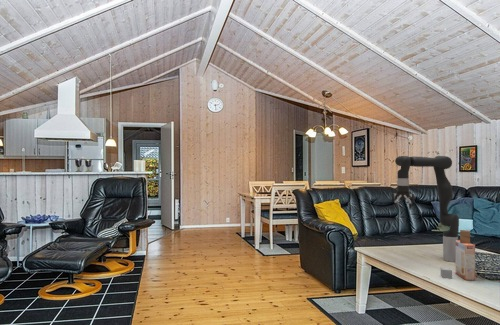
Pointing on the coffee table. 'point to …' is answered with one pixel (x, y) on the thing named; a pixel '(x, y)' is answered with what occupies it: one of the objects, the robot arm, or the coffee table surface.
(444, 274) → the grey block
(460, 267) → the cracker box
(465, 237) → the walnut block
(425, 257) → the coffee table surface
